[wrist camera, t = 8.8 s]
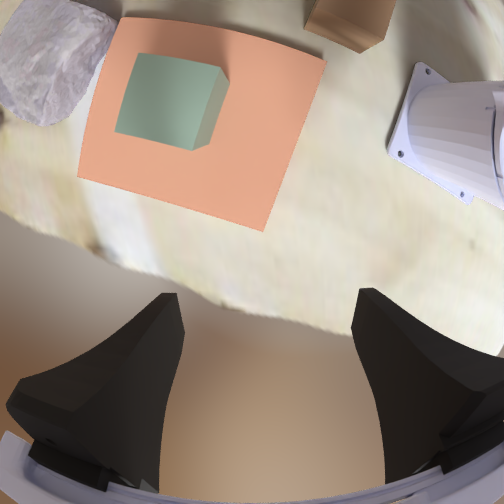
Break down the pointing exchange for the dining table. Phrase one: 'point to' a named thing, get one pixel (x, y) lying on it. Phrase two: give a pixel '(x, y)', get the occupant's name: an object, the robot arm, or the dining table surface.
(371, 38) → the walnut cube
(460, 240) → the dining table surface
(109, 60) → the terracotta tile
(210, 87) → the sage block
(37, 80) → the stone block
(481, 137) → the robot arm
